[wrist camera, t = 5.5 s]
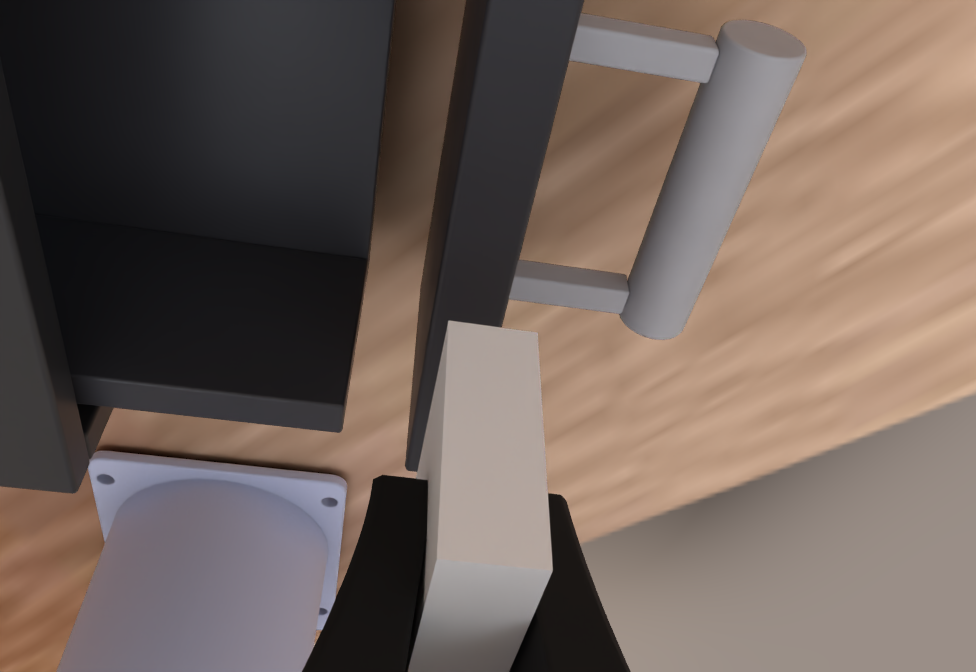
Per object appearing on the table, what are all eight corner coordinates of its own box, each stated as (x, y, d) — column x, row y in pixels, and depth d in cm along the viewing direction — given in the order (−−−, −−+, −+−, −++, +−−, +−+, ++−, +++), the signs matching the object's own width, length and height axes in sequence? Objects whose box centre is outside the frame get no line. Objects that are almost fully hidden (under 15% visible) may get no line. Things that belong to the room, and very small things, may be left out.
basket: (820, -195, 14) (963, -82, 10) (627, 313, 22) (661, 499, 18) (-347, -444, 12) (-797, -435, 8) (-110, 214, 20) (-273, 400, 15)
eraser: (540, 330, 11) (554, 573, 9) (477, 534, 15) (473, 756, 12) (447, 318, 11) (434, 560, 9) (405, 526, 15) (386, 749, 12)
